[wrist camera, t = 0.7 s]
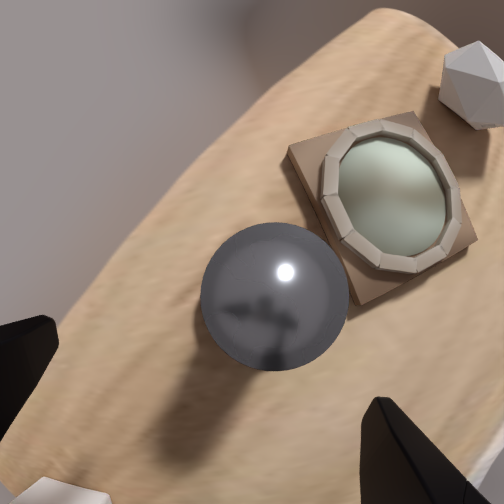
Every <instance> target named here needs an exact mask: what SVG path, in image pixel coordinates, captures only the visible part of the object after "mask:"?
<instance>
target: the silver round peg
mask: <svg viewBox="0 0 504 504" xmlns="http://www.w3.org/2000/svg"><path fill="white" fill-rule="evenodd" d="M200 298H201V309H202V314H203V318H204V321H205V324H206V326H207V328H208V330H209V332H210V334H211V336H212V337H213V339H214V340H215V342H216V343H217V344H218V345H219V347H220V348H221V349H222V350H223V351H224V352H225V353H227V354H228V355H229V356H230V357H232V358H233V359H235V360H236V361H238V362H240V363H242V364H244V365H246V366H249V367H252V368H255V369H259V370H265V371H284V370H290V369H294V368H298V367H300V366H303V365H305V364H307V363H309V362H311V361H313V360H315V359H316V358H317V357H319V356H320V355H322V354H323V353H324V352H325V351H326V350H327V349H328V348H329V347H330V346H331V345H332V343H333V342H334V341H335V340H336V338H337V336H338V335H339V333H340V331H341V329H342V327H343V325H344V322H345V319H346V316H347V312H348V306H349V287H348V282H347V277H346V274H345V271H344V268H343V266H342V264H341V262H340V260H339V258H338V257H337V255H336V254H335V252H334V251H333V250H332V249H331V248H330V246H329V245H328V244H327V243H326V242H325V241H323V240H322V239H321V238H320V237H318V236H317V235H315V234H314V233H312V232H310V231H308V230H306V229H304V228H302V227H299V226H296V225H292V224H287V223H277V222H274V223H263V224H258V225H254V226H251V227H248V228H246V229H244V230H242V231H239V232H238V233H236V234H235V235H233V236H232V237H230V238H229V239H228V240H227V241H225V242H224V243H223V244H222V245H221V246H220V247H219V249H218V250H217V251H216V252H215V254H214V255H213V257H212V258H211V260H210V262H209V264H208V266H207V268H206V270H205V273H204V276H203V280H202V285H201V295H200Z"/></svg>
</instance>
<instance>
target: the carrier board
mask: <svg viewBox="0 0 504 504" xmlns="http://www.w3.org/2000/svg"><path fill="white" fill-rule="evenodd" d="M287 154H288V156H289V158H290V160H291V162H292V164H293V166H294V168H295V170H296V172H297V174H298V177H299V179H300V181H301V183H302V185H303V187H304V189H305V191H306V193H307V195H308V197H309V200H310V202H311V204H312V206H313V208H314V210H315V212H316V215H317V217H318V219H319V221H320V223H321V226H322V228H323V230H324V232H325V234H326V237H327V239H328V241H329V244H330V246H331V248H332V250H333V251H334V252H335V254H336V255H337V257H338V258H339V260H340V262H341V264H342V266H343V268H344V271H345V274H346V277H347V282H348V287H349V291H350V293H351V296H352V298H353V301H354V303H355V305H363V304H365V303H367V302H369V301H371V300H373V299H375V298H377V297H379V296H381V295H383V294H385V293H387V292H388V291H390V290H392V289H394V288H396V287H398V286H400V285H402V284H404V283H405V282H407V281H409V280H411V279H413V278H414V277H416V276H418V275H420V274H422V273H423V272H425V271H427V270H429V269H431V268H432V267H434V266H436V265H437V264H439V263H441V262H443V261H444V260H446V259H448V258H449V257H451V256H453V255H454V254H456V253H458V252H459V251H461V250H463V249H464V248H466V247H468V246H469V245H471V244H472V243H474V242H476V241H477V240H478V238H477V236H476V233H475V231H474V228H473V226H472V223H471V221H470V218H469V216H468V214H467V211H466V209H465V207H464V204H463V202H462V200H461V197H460V188H458V187H459V185H458V183H457V180H456V178H455V176H454V174H453V172H452V170H451V168H450V166H449V165H448V163H447V161H446V159H445V157H444V155H443V154H441V151H440V150H438V149H437V148H436V147H435V146H434V145H433V143H432V141H431V139H430V138H429V136H428V134H427V132H426V131H425V129H424V127H423V126H422V124H421V122H420V121H419V119H418V118H417V116H416V114H415V113H414V111H411V112H407V113H403V114H399V115H394V116H390V117H386V118H382V119H376V120H372V121H368V122H364V123H361V124H357V125H353V126H350V127H348V128H345V129H341V130H338V131H334V132H331V133H328V134H324V135H321V136H317V137H314V138H311V139H308V140H304V141H301V142H298V143H295V144H292V145H289V147H288V150H287Z"/></svg>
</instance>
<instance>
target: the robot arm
mask: <svg viewBox="0 0 504 504" xmlns="http://www.w3.org/2000/svg"><path fill="white" fill-rule="evenodd" d="M58 346H59V339H58V334H57V328H56V323H55V321H54V319H53V318H50V317H48V316H46V315H39V316H35V317H31V318H28V319H24V320H20V321H16V322H12V323H9V324H5V325H1V326H0V442H1V440H2V438H3V437H4V435H5V433H6V432H7V430H8V429H9V427H10V425H11V424H12V422H13V421H14V419H15V418H16V416H17V415H18V413H19V411H20V410H21V408H22V407H23V405H24V404H25V402H26V401H27V399H28V398H29V397H30V395H31V394H32V392H33V391H34V389H35V388H36V386H37V384H38V383H39V381H40V379H41V377H42V375H43V374H44V372H45V370H46V368H47V366H48V365H49V363H50V361H51V359H52V358H53V356H54V354H55V352H56V351H57V349H58ZM360 492H361V504H491V503H490V502H489V501H488V500H487V499H486V498H485V497H484V496H483V495H482V494H480V493H479V491H478V490H477V489H476V488H475V487H474V486H473V485H472V484H471V483H470V482H469V481H467V479H466V478H465V477H464V476H463V475H462V474H461V472H460V471H459V470H458V469H457V468H456V467H455V466H454V465H453V464H452V463H451V462H450V461H449V460H448V459H447V458H446V457H445V455H444V454H443V453H442V452H441V451H440V450H439V449H438V448H437V447H436V446H435V445H434V444H433V443H432V442H431V441H430V440H429V438H428V437H427V436H426V435H425V434H424V433H423V432H422V431H421V430H420V429H419V428H418V427H417V426H416V425H415V424H414V423H413V422H412V420H411V419H410V418H409V417H408V416H407V415H406V414H405V413H404V412H403V411H402V410H401V409H400V408H399V407H398V406H397V405H396V403H395V402H394V401H393V400H392V399H391V398H388V397H375V398H374V399H373V400H372V402H371V404H370V406H369V407H368V409H367V411H366V413H365V414H364V416H363V419H362V423H361V448H360Z"/></svg>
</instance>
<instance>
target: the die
mask: <svg viewBox="0 0 504 504" xmlns="http://www.w3.org/2000/svg"><path fill="white" fill-rule="evenodd" d="M438 100H439V101H441V102H442V103H443V104H445V105H446V106H447V107H449V108H450V109H451V110H452V111H454V112H455V113H456V114H457V115H459V116H460V117H461V118H462V119H464V120H465V121H466V122H467V123H468V124H470V125H471V126H472V127H473V128H474V129H475V130H481V129H488V128H495V127H503V126H504V61H503V60H501V59H500V58H499V57H498V56H497V55H496V54H494V53H493V52H492V51H491V50H490V49H489V48H487V47H486V46H485V45H484V44H482V43H481V42H480V41H477V42H474V43H472V44H470V45H467V46H465V47H462V48H460V49H457V50H455V51H453V52H450V53H448V54H446V55H445V56H444V64H443V72H442V79H441V85H440V92H439V98H438Z"/></svg>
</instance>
